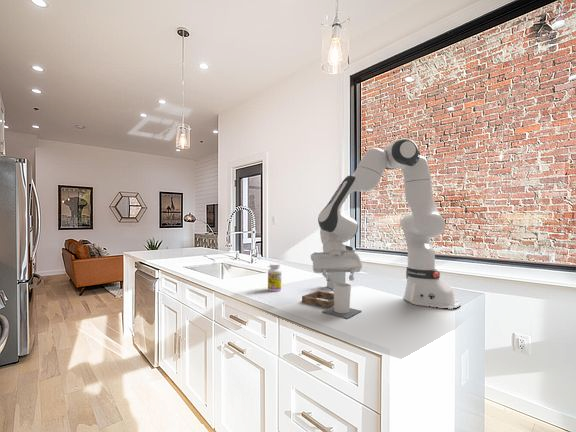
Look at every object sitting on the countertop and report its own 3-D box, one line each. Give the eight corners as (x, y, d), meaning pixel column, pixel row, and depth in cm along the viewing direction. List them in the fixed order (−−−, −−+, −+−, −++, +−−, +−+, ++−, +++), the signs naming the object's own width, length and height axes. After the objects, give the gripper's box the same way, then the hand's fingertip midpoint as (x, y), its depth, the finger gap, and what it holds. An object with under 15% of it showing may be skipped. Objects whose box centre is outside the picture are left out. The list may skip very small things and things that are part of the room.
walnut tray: (344, 301, 131) (344, 295, 131) (328, 308, 121) (328, 302, 121) (318, 295, 140) (319, 290, 140) (302, 302, 130) (302, 296, 130)
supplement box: (345, 289, 154) (346, 264, 154) (332, 289, 152) (332, 264, 152) (339, 285, 161) (339, 261, 161) (326, 286, 159) (326, 262, 159)
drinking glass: (349, 314, 113) (349, 287, 113) (331, 312, 115) (331, 285, 115) (351, 309, 119) (352, 283, 119) (334, 307, 121) (335, 282, 121)
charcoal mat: (361, 311, 118) (361, 310, 118) (347, 318, 109) (347, 317, 109) (336, 305, 125) (336, 304, 125) (321, 312, 116) (321, 311, 116)
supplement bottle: (265, 289, 150) (265, 263, 150) (274, 287, 154) (275, 262, 154) (274, 292, 145) (274, 265, 145) (284, 290, 150) (284, 264, 150)
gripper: (311, 248, 127) (315, 276, 118) (358, 247, 129) (366, 275, 120) (309, 257, 132) (313, 285, 122) (355, 256, 134) (362, 283, 124)
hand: (340, 280), depth 121 cm, fingers open, 8 cm apart
